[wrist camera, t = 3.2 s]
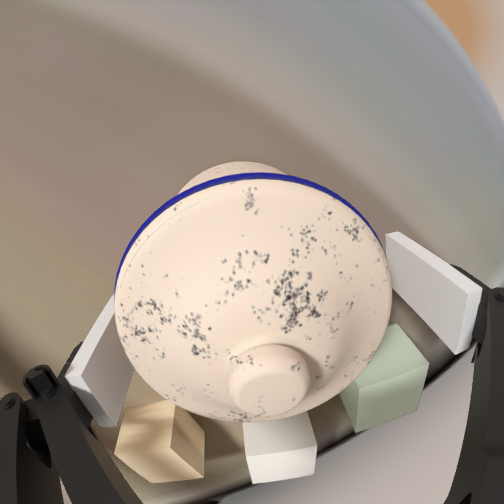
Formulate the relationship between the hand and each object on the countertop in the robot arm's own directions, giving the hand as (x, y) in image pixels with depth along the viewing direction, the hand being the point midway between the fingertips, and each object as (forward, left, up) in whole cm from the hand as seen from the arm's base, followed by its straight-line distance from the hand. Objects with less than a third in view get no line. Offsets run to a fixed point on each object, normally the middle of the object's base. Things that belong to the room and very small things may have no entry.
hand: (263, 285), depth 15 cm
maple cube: (-10, -13, -4) cm, 17 cm away
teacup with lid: (0, 0, -4) cm, 4 cm away
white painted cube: (-1, -15, -4) cm, 15 cm away
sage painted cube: (+7, -10, -4) cm, 13 cm away
